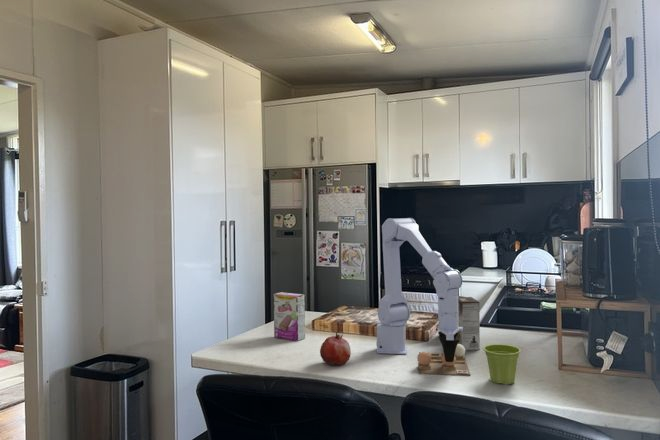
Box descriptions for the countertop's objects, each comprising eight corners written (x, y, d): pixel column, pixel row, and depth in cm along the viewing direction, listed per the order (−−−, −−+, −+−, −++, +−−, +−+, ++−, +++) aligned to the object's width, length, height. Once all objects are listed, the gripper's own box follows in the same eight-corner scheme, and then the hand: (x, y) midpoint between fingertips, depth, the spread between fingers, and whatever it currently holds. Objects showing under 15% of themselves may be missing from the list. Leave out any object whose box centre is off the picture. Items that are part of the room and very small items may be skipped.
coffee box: (453, 343, 170) (453, 297, 170) (471, 342, 170) (471, 296, 170) (461, 350, 161) (461, 301, 160) (481, 349, 161) (480, 301, 161)
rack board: (418, 373, 138) (418, 369, 138) (418, 353, 158) (418, 349, 158) (470, 375, 135) (470, 371, 135) (463, 355, 155) (463, 351, 155)
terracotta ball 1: (417, 367, 141) (417, 353, 141) (417, 363, 145) (417, 349, 145) (431, 367, 140) (431, 354, 140) (431, 363, 144) (430, 350, 144)
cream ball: (452, 358, 149) (452, 345, 149) (451, 354, 153) (451, 342, 153) (465, 359, 148) (465, 346, 148) (464, 355, 152) (464, 342, 152)
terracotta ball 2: (442, 368, 140) (441, 355, 140) (441, 364, 144) (441, 350, 144) (456, 368, 139) (456, 355, 139) (455, 364, 143) (455, 350, 143)
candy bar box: (273, 337, 181) (272, 293, 180) (281, 335, 185) (281, 291, 185) (297, 341, 175) (297, 296, 174) (305, 338, 179) (305, 294, 179)
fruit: (315, 361, 151) (315, 329, 150) (343, 357, 154) (343, 326, 154) (327, 370, 142) (326, 336, 142) (356, 365, 146) (355, 332, 146)
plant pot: (501, 389, 125) (501, 355, 125) (476, 378, 133) (476, 346, 133) (528, 383, 129) (528, 350, 128) (503, 373, 137) (502, 342, 137)
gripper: (464, 317, 133) (465, 367, 133) (460, 307, 148) (460, 352, 148) (438, 317, 135) (439, 366, 135) (436, 307, 149) (437, 351, 149)
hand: (448, 358), depth 141 cm, fingers open, 5 cm apart
